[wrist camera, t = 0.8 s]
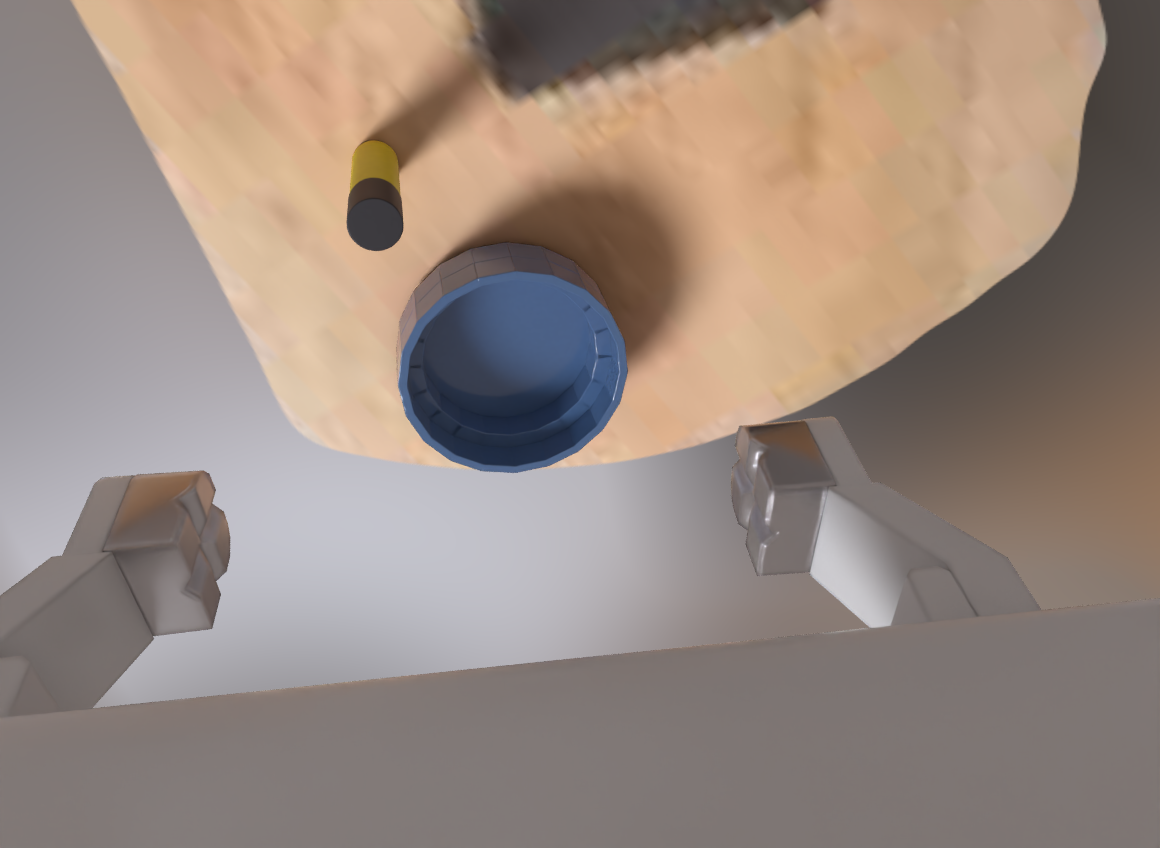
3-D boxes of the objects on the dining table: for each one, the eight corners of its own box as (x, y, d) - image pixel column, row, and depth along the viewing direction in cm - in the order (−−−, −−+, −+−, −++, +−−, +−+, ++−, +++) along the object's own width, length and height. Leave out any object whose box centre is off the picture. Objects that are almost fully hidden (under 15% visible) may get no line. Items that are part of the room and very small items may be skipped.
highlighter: (346, 143, 56) (340, 203, 47) (393, 135, 56) (396, 193, 47) (357, 189, 57) (354, 255, 48) (403, 181, 58) (408, 246, 48)
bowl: (374, 262, 60) (374, 297, 56) (598, 221, 61) (616, 252, 57) (422, 448, 68) (426, 491, 64) (618, 408, 70) (635, 448, 65)
